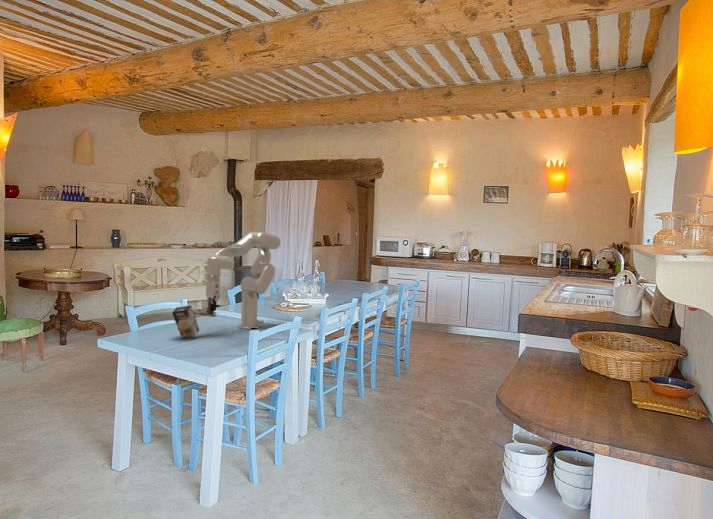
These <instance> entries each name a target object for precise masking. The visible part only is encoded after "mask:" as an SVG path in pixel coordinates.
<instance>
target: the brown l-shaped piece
mask: <svg viewBox="0 0 713 519" xmlns="http://www.w3.org/2000/svg"><path fill="white" fill-rule="evenodd" d="M214 298H215V297H214ZM213 300H215V299H213ZM210 307H211V298H210V299H209V303H208V302H207V308H206V312H205V311H196V310H193V312H194V315H199V316H204V317H211V318H216V315H215V313H214V312H215V311H210Z"/></svg>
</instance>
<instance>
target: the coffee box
mask: <svg viewBox="0 0 713 519" xmlns="http://www.w3.org/2000/svg"><path fill="white" fill-rule="evenodd" d="M193 311H194V310H193V307H192V305H186V306H185V305H184V306H179V307H178V306H177V307H176V308H174V310H173V311H172V316H173V318H174V321H175V324H176V326H177V330H178V332H179V335H180V337H181V339H182V338H189V337H196V336H197V335H198V334H199V332H200V328H199V324H198V321H197V319H196V316H195V315H196V314H194V312H193Z"/></svg>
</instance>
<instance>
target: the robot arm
mask: <svg viewBox="0 0 713 519" xmlns="http://www.w3.org/2000/svg"><path fill="white" fill-rule="evenodd" d="M256 246H257V250H258V252H257V256H256V258H255V260H254V261H253V263H252V266H251V268H250V274H251V276H246V277H244V278H242V280H241V282H240V290H241V318H240V320H241V321H240V324H238V329H241V328H242V330H252V329H251V328H257V327H259V328H260V325H261V324H265V323H264V320H260V319H258V303H259V302H258V300H259V299H258V295H262V294H265V293H266V292H267V291H268V288H269V287H270V285H271V282H272V280H273V279H274V276H275V272H276V269H275V266H274V265H273V264H271V263H270V261H271V259H272V254H271V251H270V250H277V249H278V248H280V247H281V239H280V238H279V236H277V235H275V234H274V235H273V234H270V233H266V232H263V231H249V232H248V233H246V235H244V236H243V237H242V238H240V239H239V240H238V241H237V242H235V243H233V244H230V245H228V246H226V247H225V248H222V249H221V250H219V251H218V252H217V253H215V254H214V255H213V256H211V255H210V256H208V257H207V259H206V284H205V285H206V286H205V297H206V298H207V304H208V303H209V299H210V298H211V307H210V311H214V312H216V311H217V303H218V301H219V299H220V298H221V270H231V269H233V268H234V266H235V263H236V262H235V259H234V258H236V257H241V256H244V255H247V253H248V252H250V251H251V250H252V249H253V248H254V247H256ZM257 294H258V295H257ZM214 297H215V298H214ZM213 299H215V300H213ZM257 329H258V328H257Z"/></svg>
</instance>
